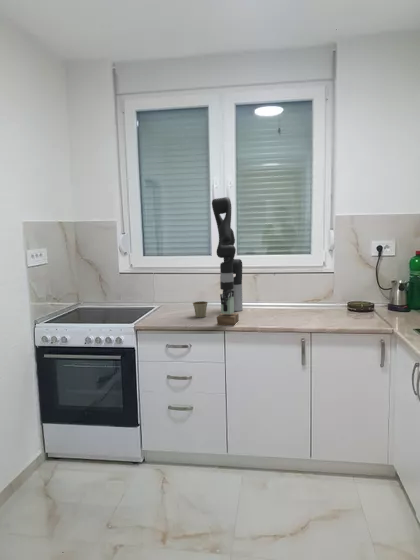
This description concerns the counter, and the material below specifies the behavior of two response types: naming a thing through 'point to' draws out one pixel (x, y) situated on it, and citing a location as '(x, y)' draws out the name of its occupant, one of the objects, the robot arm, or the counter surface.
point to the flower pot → (200, 308)
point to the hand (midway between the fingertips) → (227, 310)
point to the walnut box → (227, 319)
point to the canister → (228, 306)
